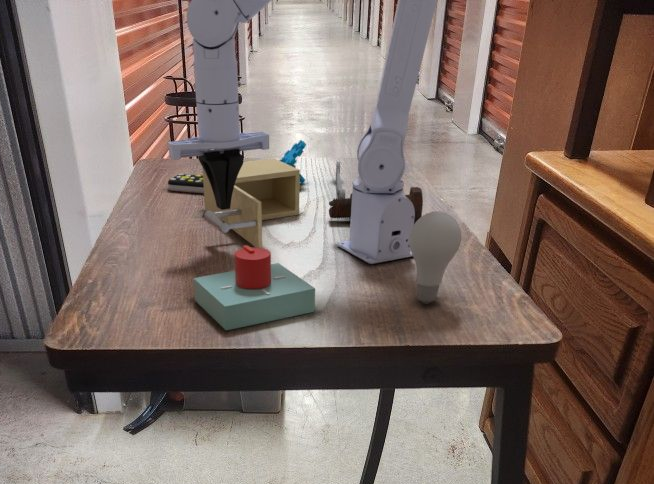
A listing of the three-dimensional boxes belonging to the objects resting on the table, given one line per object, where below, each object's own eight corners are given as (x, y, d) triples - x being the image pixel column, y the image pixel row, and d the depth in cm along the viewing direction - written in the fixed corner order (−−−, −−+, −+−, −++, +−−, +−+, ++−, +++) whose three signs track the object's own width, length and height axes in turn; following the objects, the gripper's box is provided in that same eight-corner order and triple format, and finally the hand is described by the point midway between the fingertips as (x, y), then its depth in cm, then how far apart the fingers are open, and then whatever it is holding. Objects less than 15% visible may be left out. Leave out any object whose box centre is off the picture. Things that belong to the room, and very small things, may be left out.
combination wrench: (346, 188, 115) (342, 159, 130) (338, 188, 115) (336, 159, 130) (344, 211, 117) (341, 179, 133) (337, 211, 117) (335, 179, 133)
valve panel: (314, 311, 82) (315, 287, 80) (226, 330, 78) (224, 305, 76) (278, 284, 89) (278, 261, 87) (195, 301, 85) (193, 276, 83)
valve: (277, 285, 81) (277, 253, 78) (244, 291, 79) (243, 259, 77) (261, 273, 84) (261, 242, 81) (229, 279, 82) (228, 247, 80)
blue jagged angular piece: (267, 167, 133) (302, 129, 128) (287, 189, 136) (323, 153, 130) (261, 190, 126) (298, 151, 120) (283, 212, 129) (320, 175, 123)
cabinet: (299, 214, 114) (299, 169, 110) (226, 225, 109) (224, 179, 105) (274, 200, 121) (274, 158, 116) (205, 210, 116) (202, 166, 112)
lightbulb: (444, 293, 87) (458, 204, 80) (455, 312, 82) (471, 219, 75) (397, 293, 86) (408, 205, 80) (406, 312, 82) (418, 220, 75)
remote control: (228, 196, 123) (227, 184, 122) (165, 191, 126) (164, 179, 125) (239, 188, 128) (239, 176, 126) (179, 183, 131) (178, 172, 129)
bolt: (328, 230, 113) (417, 227, 112) (330, 223, 108) (422, 220, 107) (328, 194, 112) (417, 191, 111) (329, 185, 107) (423, 181, 106)
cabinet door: (223, 255, 97) (220, 207, 93) (194, 230, 107) (190, 185, 102) (262, 249, 99) (261, 201, 95) (230, 225, 109) (228, 181, 104)
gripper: (253, 93, 94) (256, 194, 103) (156, 101, 89) (167, 207, 98) (275, 100, 90) (276, 206, 98) (174, 109, 84) (184, 219, 93)
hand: (223, 207), depth 98 cm, fingers closed
